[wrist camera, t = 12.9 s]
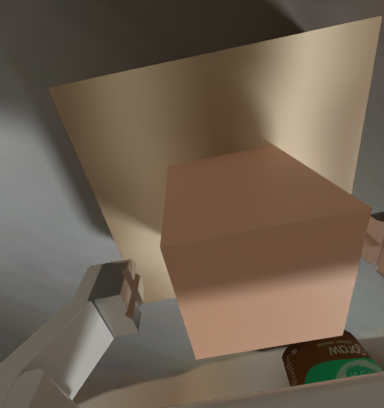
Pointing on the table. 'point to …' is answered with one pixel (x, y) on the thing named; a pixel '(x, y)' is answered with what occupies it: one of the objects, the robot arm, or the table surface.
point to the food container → (327, 360)
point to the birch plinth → (216, 123)
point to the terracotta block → (259, 250)
